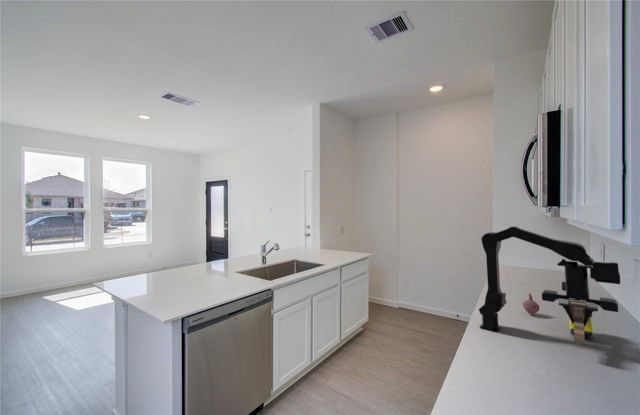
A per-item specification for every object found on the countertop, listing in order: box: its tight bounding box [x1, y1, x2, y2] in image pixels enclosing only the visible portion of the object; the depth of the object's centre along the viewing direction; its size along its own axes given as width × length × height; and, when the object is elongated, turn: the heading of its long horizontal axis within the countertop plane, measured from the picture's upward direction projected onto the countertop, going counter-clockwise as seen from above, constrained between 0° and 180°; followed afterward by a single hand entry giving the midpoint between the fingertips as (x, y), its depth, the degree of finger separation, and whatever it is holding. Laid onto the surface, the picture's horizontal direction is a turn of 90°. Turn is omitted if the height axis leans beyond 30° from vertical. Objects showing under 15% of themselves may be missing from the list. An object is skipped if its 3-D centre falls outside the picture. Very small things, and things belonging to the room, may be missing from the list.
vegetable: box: [522, 292, 540, 315], centre depth 125 cm, size 6×6×10 cm
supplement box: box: [568, 302, 594, 338], centre depth 103 cm, size 6×6×11 cm
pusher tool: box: [565, 302, 593, 344], centre depth 94 cm, size 21×7×4 cm, turn 136°
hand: (579, 324), depth 93 cm, fingers closed on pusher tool, 2 cm apart
